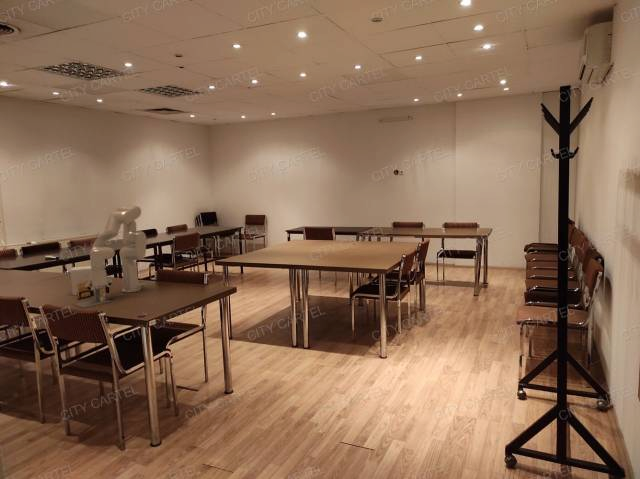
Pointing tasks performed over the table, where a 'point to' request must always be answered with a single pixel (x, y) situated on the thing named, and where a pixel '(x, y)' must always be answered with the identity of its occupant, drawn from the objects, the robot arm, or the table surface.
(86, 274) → the supplement box
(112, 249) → the robot arm
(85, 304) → the rubber mat
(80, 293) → the ammunition clip
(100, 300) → the birch tile
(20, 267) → the table surface
